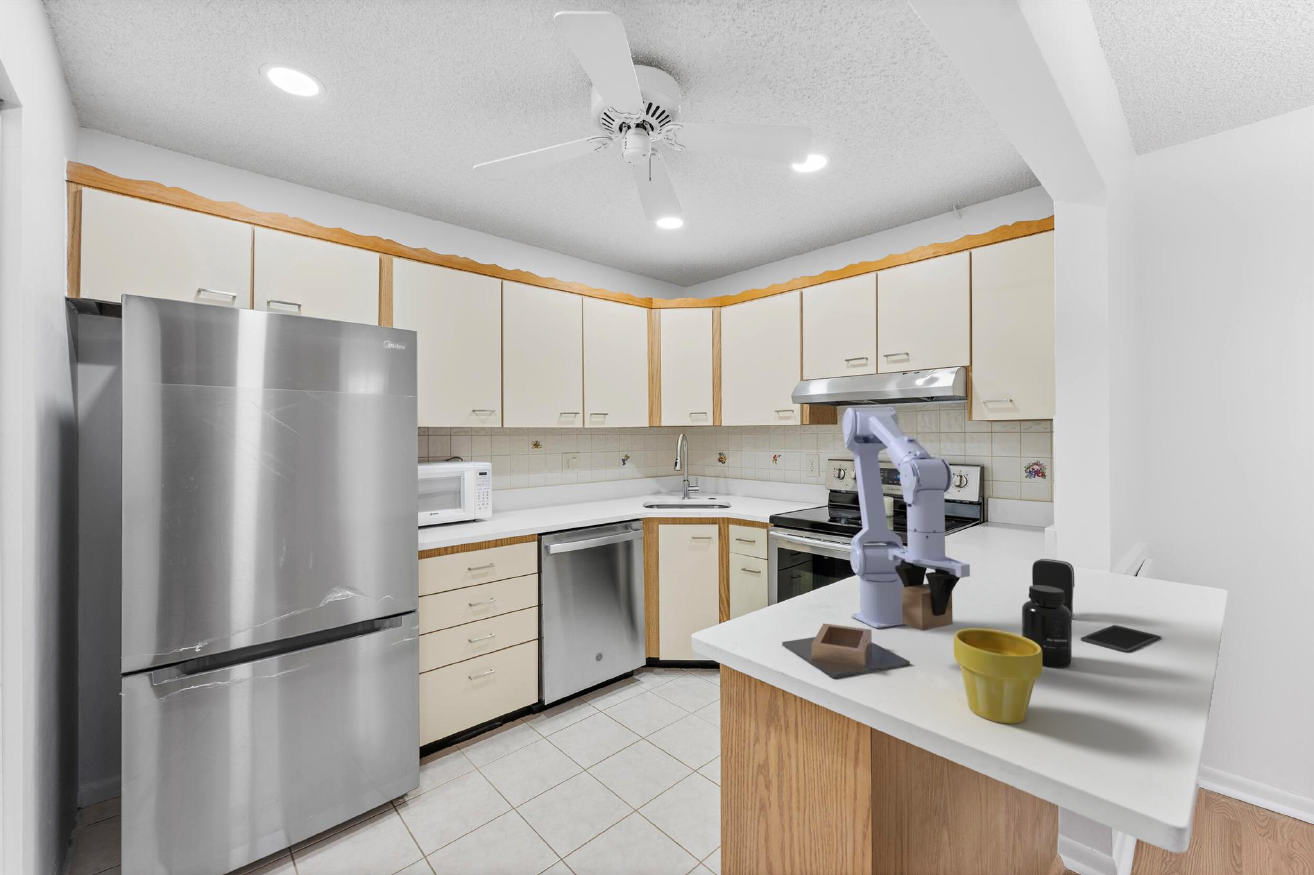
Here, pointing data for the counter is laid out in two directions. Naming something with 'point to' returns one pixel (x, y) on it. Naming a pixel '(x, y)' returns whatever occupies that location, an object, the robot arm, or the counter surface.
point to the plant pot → (997, 672)
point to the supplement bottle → (1048, 624)
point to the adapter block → (922, 609)
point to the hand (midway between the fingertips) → (927, 610)
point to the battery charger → (1055, 577)
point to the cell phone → (1121, 638)
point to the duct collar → (844, 651)
